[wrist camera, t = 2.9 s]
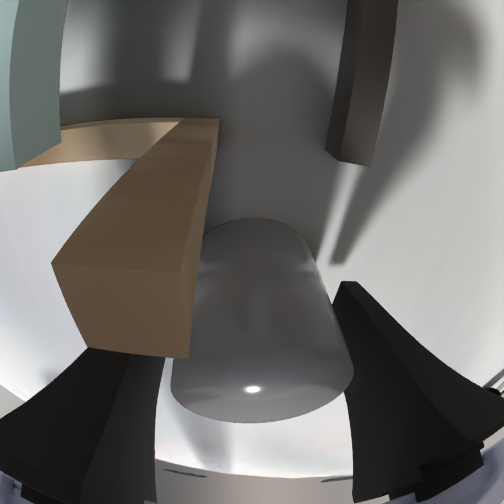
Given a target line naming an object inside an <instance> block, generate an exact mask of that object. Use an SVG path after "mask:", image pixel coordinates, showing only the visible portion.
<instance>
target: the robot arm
mask: <svg viewBox="0 0 504 504" xmlns="http://www.w3.org/2000/svg"><path fill="white" fill-rule="evenodd" d="M332 307H333V310H334V313H335V315H336V318H337V321H338V324H339V326H340V329H341V332H342V335H343V338H344V341H345V343H346V346H347V349H348V352H349V355H350V358H351V361H352V364H353V369H354V373H353V378H352V380H351V382H350V384H349V385H348V387H347V388H346V389H345V390H344V394H345V398H346V402H347V407H348V414H349V421H350V428H351V438H352V450H353V489H352V496H353V501H354V503H358V502H362V501H366V500H370V499H375V498H378V497H382V496H384V495H387V494H389V498H390V501H388V502H386V503H383V504H500V503H501V502H502V501H503V500H504V438H502V439H501V440H499V441H498V442H497V443H495V444H494V445H492V446H490V447H489V448H487V449H486V450H483V451H482V452H480V450H481V449H482V448H484V443H483V441H484V440H485V439H487V438H488V437H490V436H491V435H493V434H494V433H495V432H497V431H498V430H499V429H501V428H502V427H503V426H504V398H503V397H501V396H499V395H497V394H495V393H492V392H490V391H488V390H486V389H484V388H482V387H480V386H479V385H477V384H475V383H473V382H472V381H470V380H468V379H467V378H465V377H463V376H462V375H460V374H459V373H457V372H456V371H455V370H453V369H452V368H450V367H449V366H447V365H446V364H445V363H443V362H442V361H441V360H439V359H438V358H437V357H436V356H434V355H433V354H432V353H431V352H430V351H428V350H427V349H426V348H425V347H424V346H422V345H421V344H420V343H419V342H418V341H417V340H416V339H415V338H414V337H413V336H412V335H410V334H409V333H408V332H407V331H406V330H405V329H404V328H403V327H402V326H401V325H400V324H399V323H398V322H397V321H396V320H395V319H394V318H393V317H392V316H391V315H390V314H389V313H388V312H387V311H386V310H385V309H384V308H383V307H382V306H381V305H380V304H379V303H378V302H377V301H376V300H375V299H374V298H373V297H372V296H371V295H370V294H369V293H368V292H367V291H366V290H365V289H364V288H363V287H362V286H361V285H360V284H359V283H358V282H356V281H341V283H340V286H339V289H338V291H337V294H336V296H335V299H334V301H333V303H332ZM165 358H166V357H157V356H148V355H139V354H131V353H123V352H116V351H109V350H103V349H97V348H91V347H88V348H87V349H86V350H85V351H84V352H83V353H82V354H81V355H80V356H79V357H78V358H77V359H76V360H75V361H74V362H73V363H72V364H71V365H70V366H69V367H67V368H66V369H65V370H64V371H63V372H62V373H61V374H60V375H59V376H58V377H57V378H55V379H54V380H53V381H52V382H51V383H50V384H48V385H47V386H46V387H45V388H43V389H42V390H41V391H39V392H38V393H37V394H36V395H34V396H33V397H32V398H31V399H29V400H28V401H27V402H25V403H24V404H23V405H21V406H19V407H18V408H16V409H15V410H13V411H12V412H10V413H8V414H7V415H5V416H4V417H3V418H1V419H0V504H156V503H157V499H156V486H155V462H154V461H155V460H154V446H155V418H156V406H157V398H158V393H159V387H160V382H161V377H162V372H163V367H164V363H165Z"/></svg>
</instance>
